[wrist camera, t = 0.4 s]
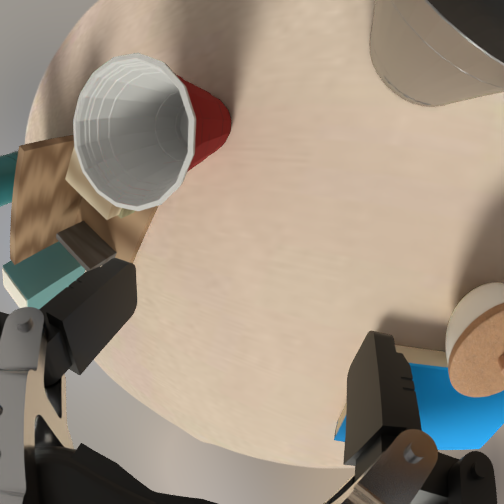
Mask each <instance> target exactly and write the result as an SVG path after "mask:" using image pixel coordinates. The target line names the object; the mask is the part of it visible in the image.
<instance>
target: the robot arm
mask: <svg viewBox="0 0 504 504" xmlns="http://www.w3.org/2000/svg"><path fill="white" fill-rule="evenodd" d="M370 55H371V59H372V63H373V65H374V67H375V69H376V72H377V74H378V75H379V76H380V78H381V79H382V81H383V82H384V83H385V84H386V85H387V86H388V87H389V88H390V89H391V90H392V91H393V92H394V93H396V94H397V95H398V96H400V97H401V98H403V99H405V100H407V101H409V102H411V103H414V104H418V105H421V106H429V107H435V106H443V105H447V104H451V103H456V102H460V101H464V100H468V99H473V98H477V97H482V96H486V95H491V94H496V93H501V92H504V0H375V8H374V16H373V24H372V30H371V37H370ZM136 306H137V286H136V268H135V265H134V264H133V263H130V262H127V261H124V260H121V259H118V258H112V259H111V260H109V261H108V262H107V263H105V264H104V265H103V266H102V267H97V268H95V269H92V270H90V271H87V272H85V273H84V274H83V275H81V276H80V277H79V278H77V279H76V281H74V282H72V283H71V284H70V285H69V287H66V288H65V289H63V290H62V291H61V292H60V293H58V294H57V295H56V296H55V297H54V298H52V299H51V300H50V301H49V302H47V303H46V304H45V305H44V306H43V307H41V308H40V309H37V308H34V307H23V308H19V309H17V310H15V311H14V312H12V313H11V314H6V313H2V312H0V504H217V503H214V502H210V501H207V500H204V499H198V498H189V497H182V496H175V495H169V494H162V493H157V492H154V491H152V490H150V489H149V488H147V487H146V486H144V485H143V484H142V483H141V482H139V481H138V480H137V479H135V478H134V477H133V476H132V475H130V474H129V473H128V472H127V471H125V470H124V469H123V468H122V467H120V466H119V465H118V464H117V463H115V462H113V461H112V460H110V459H108V458H106V457H105V456H103V455H101V454H99V453H97V452H96V451H94V450H92V449H90V448H89V447H87V446H86V445H84V444H82V443H81V444H80V446H79V447H78V448H77V450H75V449H74V448H73V443H72V439H71V436H70V433H69V430H68V426H67V414H66V377H65V372H66V371H67V370H68V369H70V370H72V371H73V372H75V373H77V374H78V375H81V374H82V372H83V371H84V370H85V369H86V367H88V365H89V364H90V363H91V362H92V361H93V360H94V358H95V357H96V356H97V355H98V354H99V353H100V351H101V350H102V349H103V348H104V347H105V346H106V345H107V343H108V342H109V341H110V340H111V339H112V338H113V337H114V335H115V334H116V333H117V332H118V331H119V330H120V329H121V328H122V326H123V325H124V324H125V323H126V322H127V321H128V320H129V319H130V317H131V316H132V315H133V313H134V311H135V309H136ZM412 379H413V376H412V372H411V367H410V364H409V363H408V361H407V360H406V358H405V357H404V355H403V354H402V353H398V352H396V348H395V343H394V338H393V336H392V335H389V334H384V333H379V332H375V331H369V333H368V334H367V336H366V337H365V339H364V341H363V343H362V345H361V347H360V349H359V351H358V353H357V354H356V356H355V358H354V360H353V362H352V364H351V366H350V369H349V372H348V377H347V410H346V434H345V451H344V465H353V466H355V474H354V475H353V476H352V477H351V478H350V479H349V480H348V481H347V482H346V483H345V484H344V485H343V486H342V487H341V488H340V489H339V490H338V491H336V492H335V493H334V494H333V495H332V496H331V497H330V498H329V499H328V500H327V501H326V502H324V503H323V504H497V495H496V485H495V476H494V469H493V465H492V463H491V461H490V459H489V458H488V457H487V456H486V455H484V454H483V453H481V452H478V451H472V452H469V453H468V454H466V455H465V456H464V457H463V458H462V459H456V458H453V457H450V456H448V455H445V454H442V453H439V452H438V449H437V446H436V444H435V442H434V440H433V439H432V438H431V437H430V436H429V435H428V434H427V433H425V432H423V431H422V428H421V421H420V415H419V409H418V403H417V397H416V392H415V391H414V390H415V386H414V381H412Z"/></svg>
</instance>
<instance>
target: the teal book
mask: <svg viewBox="0 0 504 504" xmlns="http://www.w3.org/2000/svg"><path fill="white" fill-rule="evenodd" d="M84 271H85V269H84V268H83V267H82V266H81V265H80V263H79V262H78V261H77V260H76V259H75V258H74V257H73V256H72V255H71V254H70V253H69V252H68V251H67V250H66V249H65V247H64V246H63V245H62V244H61V243H60V242H59V241H58V242H56V243H55V244H53V245H51V246H49V247H47V248H45V249H43V250H41V251H39V252H38V253H36V254H34V255H32V256H30V257H28V258H27V259H25V260H23V261H21V262H19V263H18V264H16V265H14V263H13V262H12V261H10V262H8V263H7V264H5V265H3V268H2V272H3V284H4V287H5V288H6V290H7V291H8V293H9V294H10V295H11V297H12V298H13V300H14V301H15V302H16V304H17V305H18V306H19V308H23V307H34V308H37V309H40V308H41V307H43V306H44V305H45V304H46V303H47V302H49V301H50V300H51V299H52V298H54V297H55V296H56V295H57V294H58V293H60V292H61V291H62V290H63V289H65V288H66V287H69V285H70V284H71V283H72V282H74V281H76V279H77V278H79V277H80V276H81V275H83V274H84Z"/></svg>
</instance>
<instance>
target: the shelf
mask: <svg viewBox="0 0 504 504" xmlns="http://www.w3.org/2000/svg"><path fill="white" fill-rule="evenodd" d="M158 206H159V205H158ZM158 206H155V207H151V208H148V209H145V210H141V211H134V210H130V209H125V208H120V207H116V206H115V205H113V204H112V203H110V202H109V201H108V200H106V199H105V198H103V197H102V196H101V195H99V194H98V193H97V192H96V191H95V189H94V188H93V186H92V185H91V184H90V182H89V181H88V179H87V178H86V176H85V175H84V174H83V172H82V169H81V166H80V163H79V160H78V157H77V154H76V151H75V148H74V135H70V136H64V137H59V138H53V139H48V140H43V141H39V142H34V143H29V144H25V145H21V146H19V151H18V157H17V163H16V170H15V178H14V187H13V197H12V210H11V230H10V231H11V232H10V259H11V261H12V262H13V263H14V265H16V264H18V263H19V262H21V261H23V260H25V259H27V258H28V257H30V256H32V255H34V254H36V253H38V252H39V251H41V250H43V249H45V248H47V247H49V246H51V245H53V244H55V243H56V242H58V241H59V242H60V243H61V244H62V245H63V246H64V247H65V249H66V250H67V251H68V252H69V253H70V254H71V255H72V256H73V257H74V258H75V259H76V260H77V261H78V262H79V263H80V265H81V266H82V267H83V268H84V269H85V270H86V271H90V270H92V269H95V268H97V267H100V266H101V265H102V266H103V265H104V264H105V263H107V262H108V261H109V260H111V259H112V258H118V259H121V260H124V261H127V262H130V263H133V261H134V259H135V257H136V254H137V252H138V250H139V247H140V245H141V243H142V240H143V238H144V236H145V234H146V231H147V229H148V227H149V225H150V223H151V220H152V218H153V216H154V214H155V212H156V210H157V208H158Z"/></svg>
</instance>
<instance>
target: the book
mask: <svg viewBox="0 0 504 504" xmlns="http://www.w3.org/2000/svg"><path fill="white" fill-rule="evenodd" d="M395 348H396V352H398V353H402V354H403V355H404V357H405V358H406V360H407V361H408V363H409V364H410V367H411V372H412V376H413V379H412V381H414V386H415V390H414V391H415V392H416V397H417V403H418V409H419V415H420V421H421V428H422V431H423V432H425V433H427V434H428V435H429V436H430V437H431V438H432V439H433V440H434V442H435V444H436V446H437V449H438V450H465V449H480V448H481V447H482V446H483V445H484V444H485V443H486V442H487V441H488V440H489V439H490V438H491V437H492V436H493V435H494V434H495V432H496V431H497V430H498V429H499V428H500V427H501V426H502V425H503V424H504V390H503V391H501V392H499V393H496V394H493V395H490V396H486V397H469V396H465V395H463V394H461V393H459V392H458V391H456V390H455V389H454V387H453V386H452V384H451V381H450V378H449V373H448V363H447V358H446V352H443V351H436V350H428V349H421V348H414V347H407V346H400V345H395ZM346 410H347V403H346V405H345V407H344V409H343V411H342V414H341V416H340V418H339V420H338V422H337V426H336V431H335V438H334V440H337V441H343V442H345V434H346Z"/></svg>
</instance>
